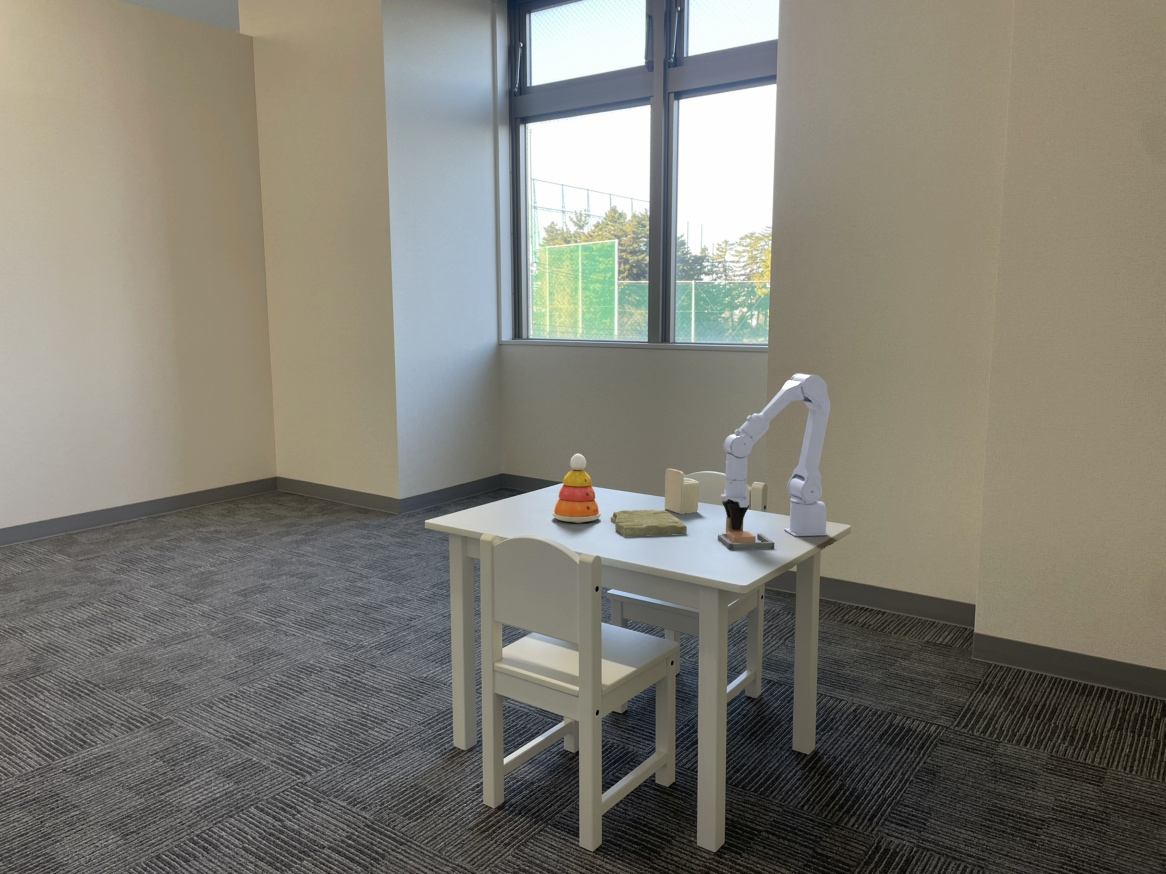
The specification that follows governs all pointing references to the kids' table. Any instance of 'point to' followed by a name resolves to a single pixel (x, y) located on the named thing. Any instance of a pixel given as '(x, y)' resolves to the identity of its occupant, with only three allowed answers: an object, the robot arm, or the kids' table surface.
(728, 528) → the walnut scraper
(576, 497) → the stacking toy
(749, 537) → the terracotta tile
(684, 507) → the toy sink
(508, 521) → the kids' table surface
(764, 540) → the slate frame
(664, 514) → the decorative tile
